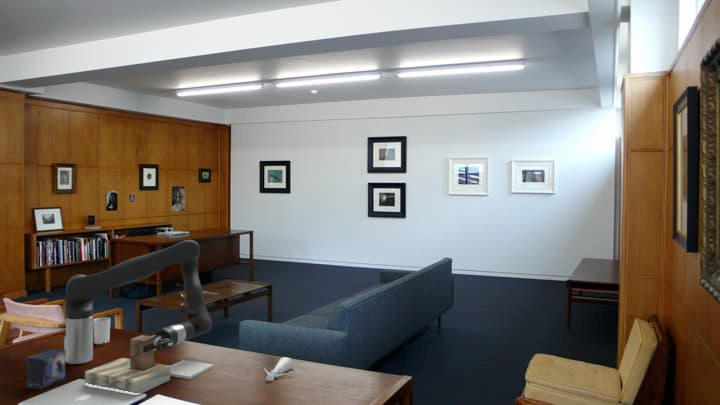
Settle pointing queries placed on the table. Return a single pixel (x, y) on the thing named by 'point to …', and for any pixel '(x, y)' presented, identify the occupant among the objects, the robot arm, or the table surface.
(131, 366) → the brown wooden block
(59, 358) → the small box
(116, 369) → the slotted wooden base
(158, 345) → the robot arm
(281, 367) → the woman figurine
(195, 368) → the grey pad
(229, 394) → the table surface
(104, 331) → the drinking glass
